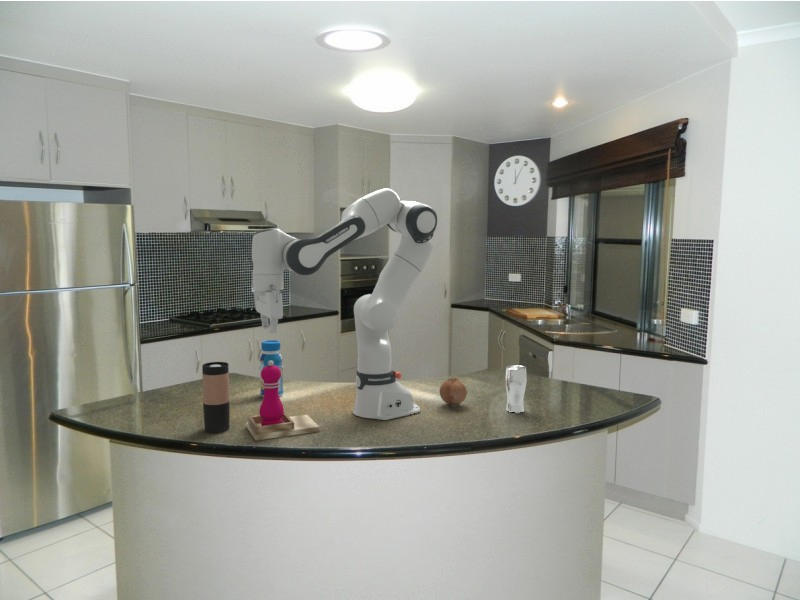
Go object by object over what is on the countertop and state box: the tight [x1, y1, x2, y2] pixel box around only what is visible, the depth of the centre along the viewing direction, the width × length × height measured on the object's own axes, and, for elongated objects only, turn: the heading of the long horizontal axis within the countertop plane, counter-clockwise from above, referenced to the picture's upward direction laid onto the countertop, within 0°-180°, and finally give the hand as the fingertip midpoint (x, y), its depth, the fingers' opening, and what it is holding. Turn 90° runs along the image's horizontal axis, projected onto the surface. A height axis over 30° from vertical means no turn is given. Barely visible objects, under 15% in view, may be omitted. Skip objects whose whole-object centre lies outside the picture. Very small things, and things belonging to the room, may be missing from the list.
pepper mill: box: [258, 360, 285, 426], centre depth 174 cm, size 7×7×20 cm
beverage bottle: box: [259, 339, 284, 398], centre depth 213 cm, size 8×8×20 cm
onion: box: [439, 376, 468, 407], centre depth 202 cm, size 10×9×10 cm
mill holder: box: [246, 411, 320, 441], centre depth 176 cm, size 19×13×4 cm
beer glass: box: [504, 364, 527, 414], centre depth 196 cm, size 7×7×15 cm
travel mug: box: [201, 361, 231, 434], centre depth 175 cm, size 8×8×20 cm
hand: (269, 330), depth 172 cm, fingers open, 8 cm apart
